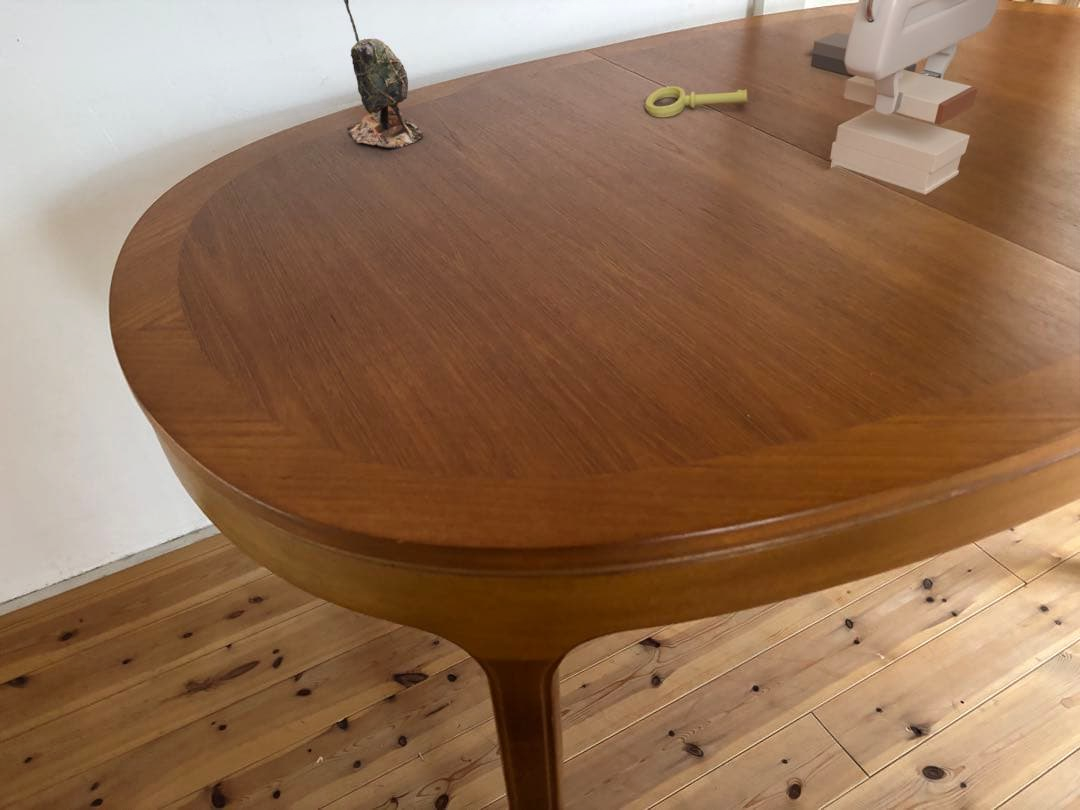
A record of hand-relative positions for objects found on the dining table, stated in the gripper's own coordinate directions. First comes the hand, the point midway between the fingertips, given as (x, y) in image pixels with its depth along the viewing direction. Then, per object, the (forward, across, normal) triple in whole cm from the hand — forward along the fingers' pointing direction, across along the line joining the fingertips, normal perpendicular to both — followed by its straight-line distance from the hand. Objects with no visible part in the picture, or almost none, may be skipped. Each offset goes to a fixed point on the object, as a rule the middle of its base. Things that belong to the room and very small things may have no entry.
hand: (907, 100), depth 85 cm
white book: (0, 0, 0) cm, 0 cm away
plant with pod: (+9, -29, +48) cm, 57 cm away
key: (+9, +2, +28) cm, 29 cm away
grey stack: (+8, +26, +20) cm, 34 cm away
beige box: (+8, 0, 0) cm, 8 cm away
